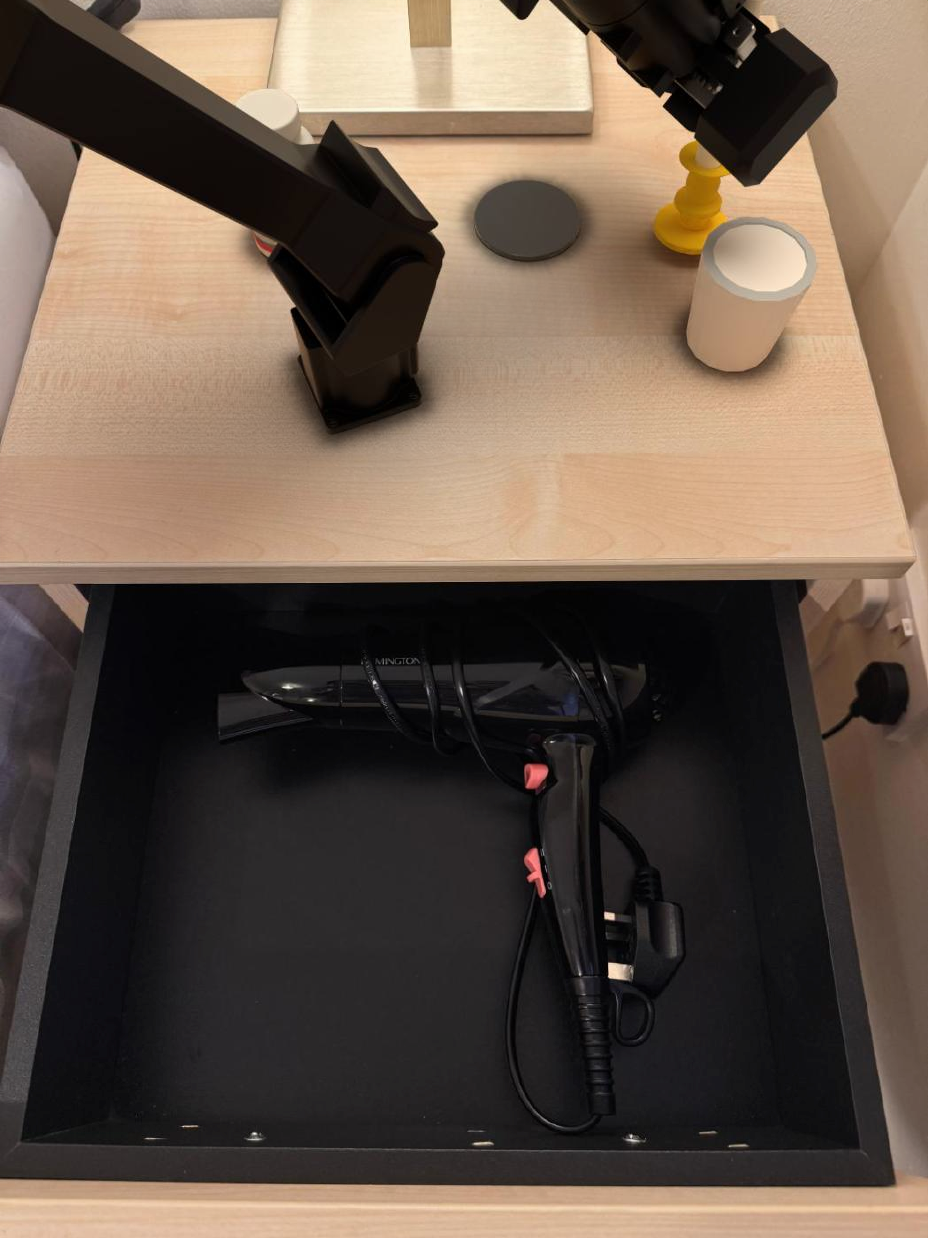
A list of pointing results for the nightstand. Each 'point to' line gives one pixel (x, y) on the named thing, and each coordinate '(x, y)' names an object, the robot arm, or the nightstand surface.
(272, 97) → the pill bottle
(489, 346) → the nightstand surface
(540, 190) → the coaster
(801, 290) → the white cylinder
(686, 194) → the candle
